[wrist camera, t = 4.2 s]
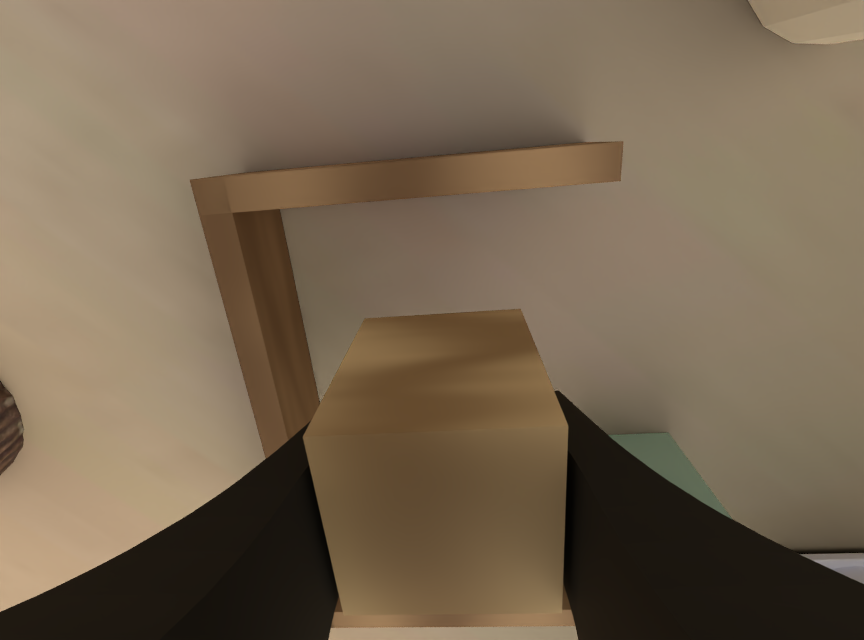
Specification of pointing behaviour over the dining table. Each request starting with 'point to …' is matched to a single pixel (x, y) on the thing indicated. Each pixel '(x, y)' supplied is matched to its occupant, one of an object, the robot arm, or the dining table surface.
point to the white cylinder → (812, 20)
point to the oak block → (442, 468)
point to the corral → (277, 297)
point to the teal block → (669, 464)
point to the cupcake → (9, 429)
